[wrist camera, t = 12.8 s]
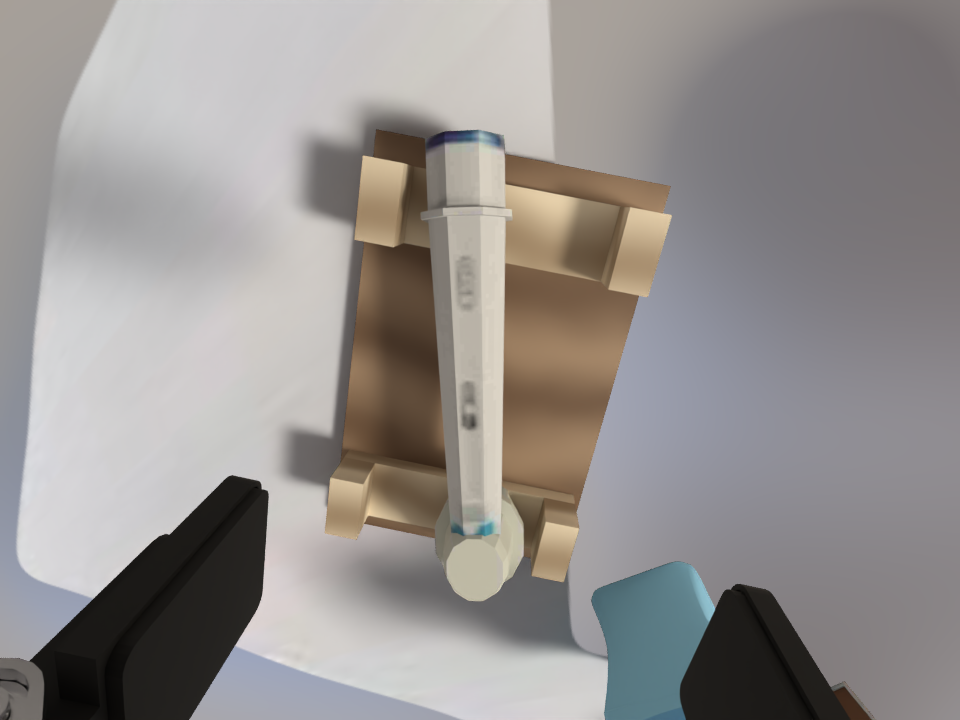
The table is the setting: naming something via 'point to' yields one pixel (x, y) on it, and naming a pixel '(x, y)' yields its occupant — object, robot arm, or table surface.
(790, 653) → the robot arm
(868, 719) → the food container
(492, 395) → the white electric toothbrush
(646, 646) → the vase
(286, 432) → the table surface
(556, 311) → the v block cradle
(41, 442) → the table surface
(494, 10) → the table surface
